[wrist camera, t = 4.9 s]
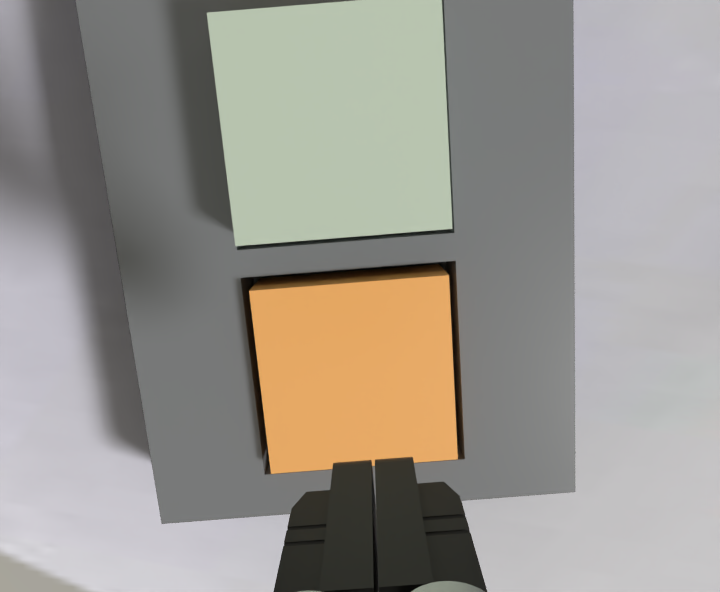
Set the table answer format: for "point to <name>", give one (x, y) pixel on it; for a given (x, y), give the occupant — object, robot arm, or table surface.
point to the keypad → (342, 253)
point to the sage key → (333, 119)
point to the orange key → (356, 366)
